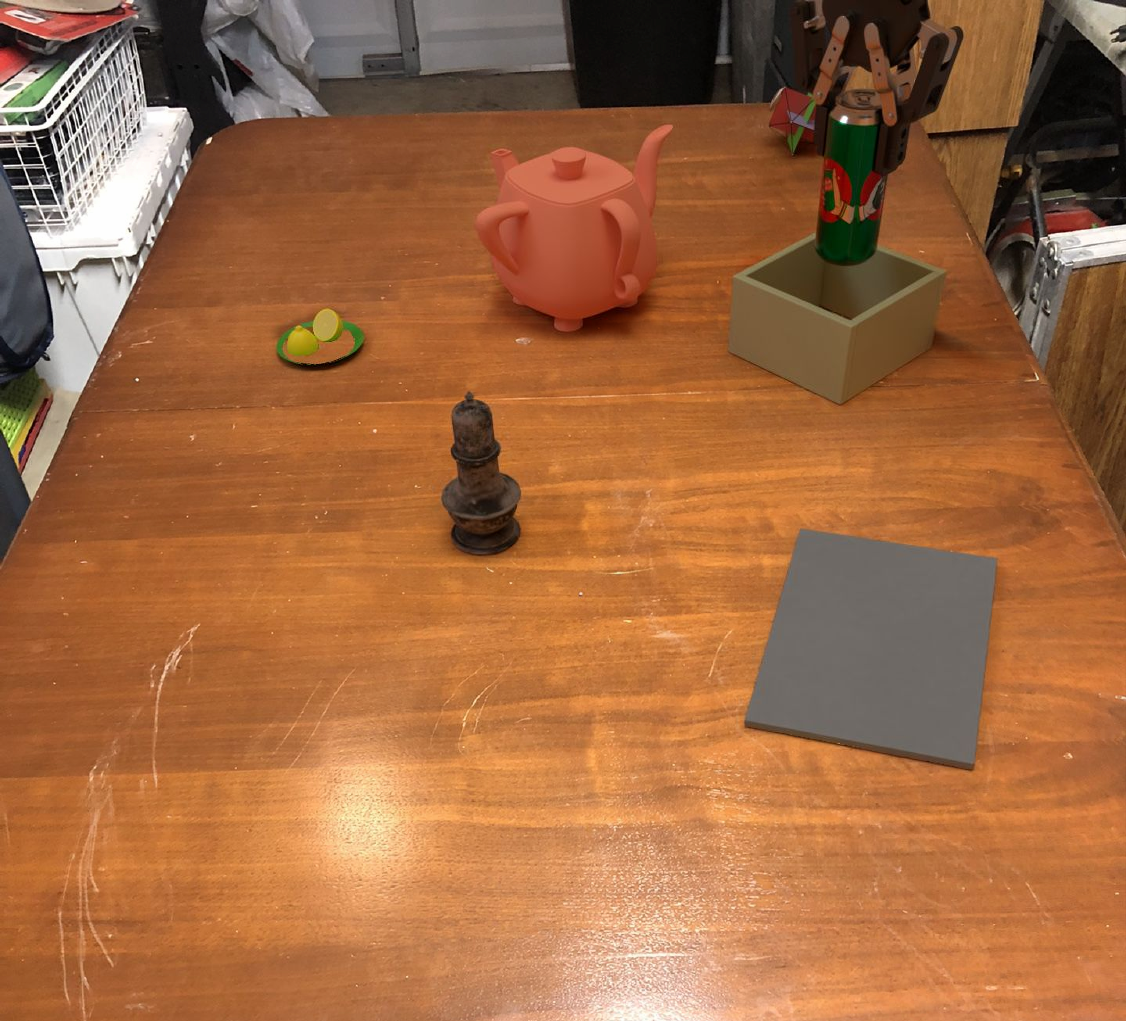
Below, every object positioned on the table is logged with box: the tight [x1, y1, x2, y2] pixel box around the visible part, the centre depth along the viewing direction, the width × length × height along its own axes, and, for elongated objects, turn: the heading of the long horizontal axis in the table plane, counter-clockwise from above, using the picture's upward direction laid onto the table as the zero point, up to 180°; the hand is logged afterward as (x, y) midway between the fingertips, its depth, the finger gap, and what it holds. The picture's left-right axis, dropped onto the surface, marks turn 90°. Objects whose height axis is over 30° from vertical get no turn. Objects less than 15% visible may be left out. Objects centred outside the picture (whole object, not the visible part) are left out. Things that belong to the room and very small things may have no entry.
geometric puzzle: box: [767, 83, 816, 156], centre depth 130 cm, size 7×7×8 cm
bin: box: [727, 231, 948, 406], centre depth 101 cm, size 13×13×7 cm
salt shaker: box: [440, 390, 522, 556], centre depth 84 cm, size 6×6×12 cm
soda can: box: [814, 87, 889, 266], centre depth 93 cm, size 5×5×12 cm
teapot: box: [475, 124, 674, 333], centre depth 107 cm, size 16×17×14 cm
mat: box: [743, 528, 999, 771], centre depth 79 cm, size 20×14×1 cm
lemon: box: [276, 308, 365, 366], centre depth 107 cm, size 8×8×3 cm
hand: (856, 161), depth 91 cm, fingers closed on soda can, 5 cm apart
